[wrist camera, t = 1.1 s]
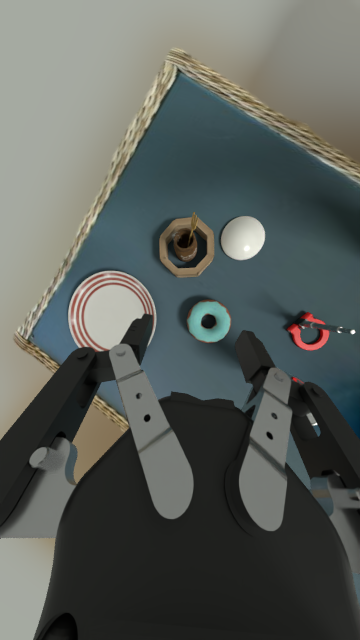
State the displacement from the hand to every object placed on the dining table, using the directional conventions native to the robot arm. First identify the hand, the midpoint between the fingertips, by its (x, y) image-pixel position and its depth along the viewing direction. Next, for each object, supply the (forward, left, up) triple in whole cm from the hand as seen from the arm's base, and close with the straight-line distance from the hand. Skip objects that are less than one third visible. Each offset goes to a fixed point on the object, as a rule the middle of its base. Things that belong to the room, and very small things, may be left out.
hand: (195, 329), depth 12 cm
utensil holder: (-11, -15, -28) cm, 33 cm away
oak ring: (-11, -15, -28) cm, 33 cm away
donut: (-1, +3, -28) cm, 28 cm away
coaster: (-23, -6, -28) cm, 37 cm away
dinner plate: (+18, -18, -28) cm, 37 cm away
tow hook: (-17, +24, -28) cm, 41 cm away
